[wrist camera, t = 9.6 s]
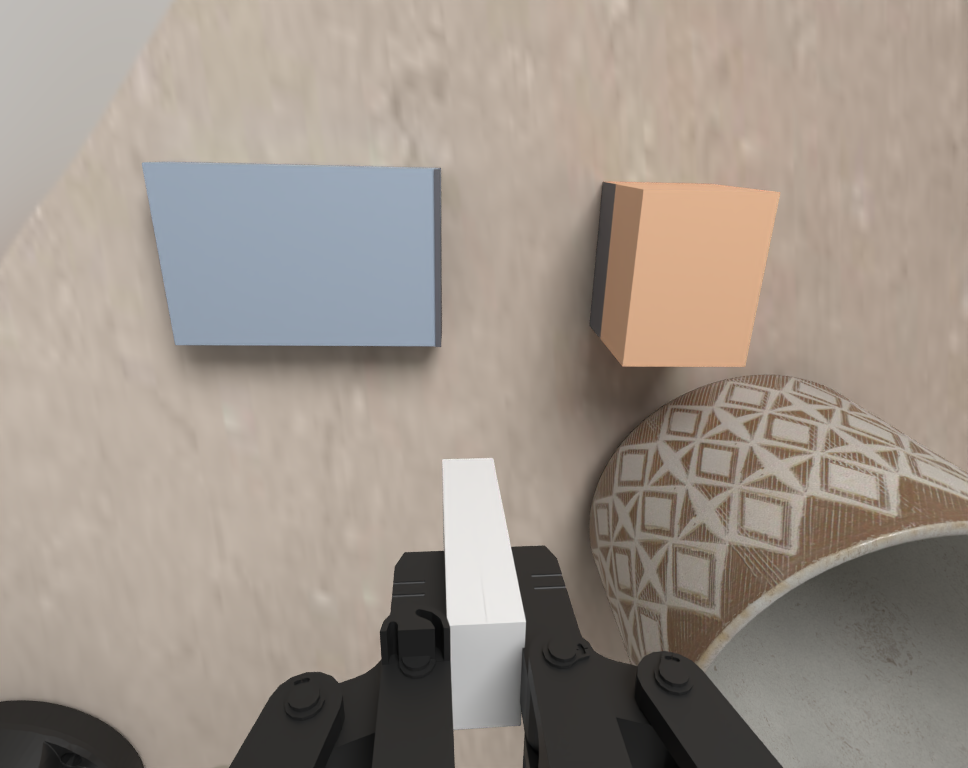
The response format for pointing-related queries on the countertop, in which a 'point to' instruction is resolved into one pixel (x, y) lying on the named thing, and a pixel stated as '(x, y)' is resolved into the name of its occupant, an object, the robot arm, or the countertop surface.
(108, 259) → the countertop surface
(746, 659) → the planter
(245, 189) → the blue-grey slab
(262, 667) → the countertop surface
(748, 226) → the block
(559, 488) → the countertop surface
